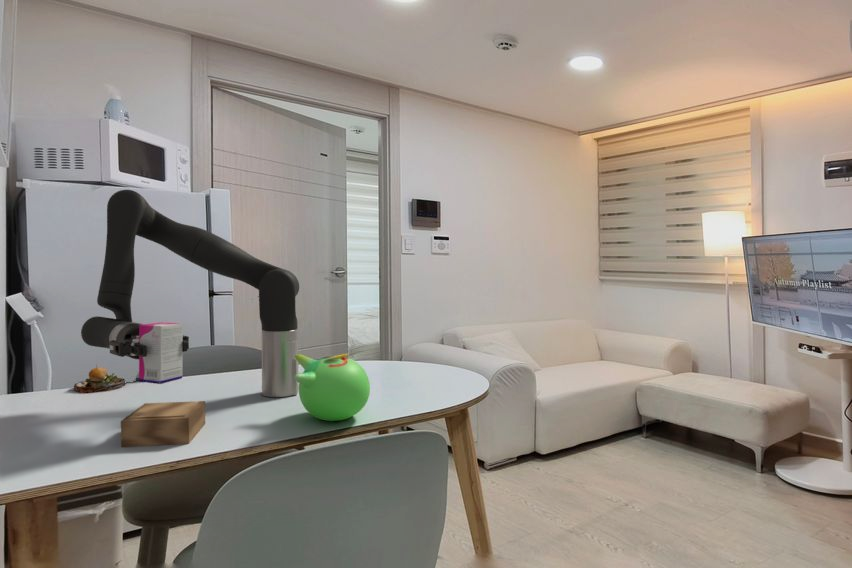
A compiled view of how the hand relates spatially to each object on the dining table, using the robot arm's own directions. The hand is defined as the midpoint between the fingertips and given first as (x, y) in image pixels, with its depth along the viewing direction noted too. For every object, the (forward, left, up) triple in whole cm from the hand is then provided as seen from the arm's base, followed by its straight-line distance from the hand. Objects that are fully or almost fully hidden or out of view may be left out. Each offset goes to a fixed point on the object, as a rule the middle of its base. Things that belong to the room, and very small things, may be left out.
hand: (165, 348), depth 100 cm
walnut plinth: (+1, -1, -18) cm, 18 cm away
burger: (+32, -45, -18) cm, 58 cm away
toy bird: (-32, -7, -18) cm, 38 cm away
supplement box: (+2, -2, -7) cm, 7 cm away
